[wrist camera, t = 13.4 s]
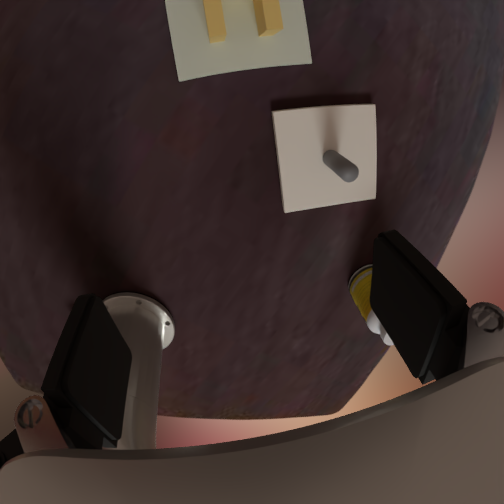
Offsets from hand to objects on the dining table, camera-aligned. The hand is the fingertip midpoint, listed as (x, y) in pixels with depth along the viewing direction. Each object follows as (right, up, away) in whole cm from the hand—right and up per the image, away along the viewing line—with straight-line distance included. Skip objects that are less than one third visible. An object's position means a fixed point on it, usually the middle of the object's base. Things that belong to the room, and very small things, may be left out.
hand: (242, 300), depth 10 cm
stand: (+9, +13, +24) cm, 29 cm away
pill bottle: (+18, -3, +35) cm, 40 cm away
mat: (-1, +26, +14) cm, 30 cm away
